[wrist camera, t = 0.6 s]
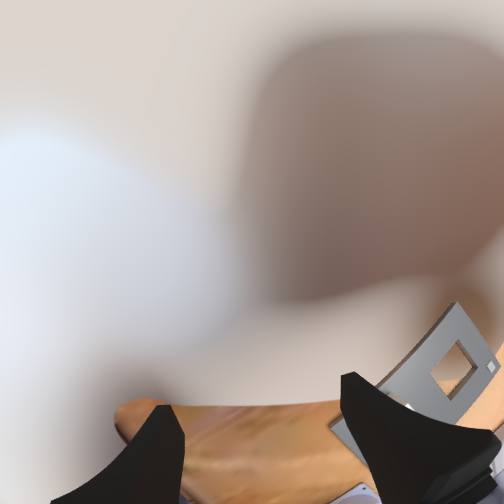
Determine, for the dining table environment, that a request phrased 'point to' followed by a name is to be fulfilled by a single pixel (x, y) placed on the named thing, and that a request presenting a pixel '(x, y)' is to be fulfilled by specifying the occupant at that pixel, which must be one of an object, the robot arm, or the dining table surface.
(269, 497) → the dining table surface
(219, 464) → the dining table surface
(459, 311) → the socket board
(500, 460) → the charger
